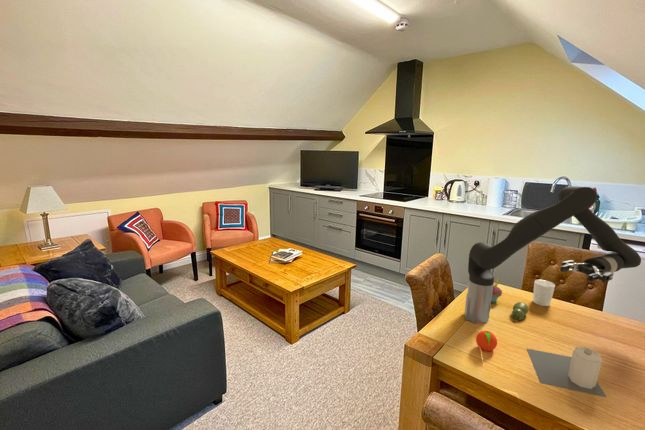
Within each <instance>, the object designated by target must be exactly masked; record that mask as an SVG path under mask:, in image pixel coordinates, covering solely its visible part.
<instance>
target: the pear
mask: <svg viewBox="0 0 645 430" xmlns="http://www.w3.org/2000/svg"><path fill="white" fill-rule="evenodd" d="M528 312H529V306H528V305H527V303H524V302H522V301H521V302H520V301H518V302H516V303H514V305H513V306H512V311H511V318H512V319H514V320H517V321H523V320H524V317H525V316H526V315H527V314H528Z"/></svg>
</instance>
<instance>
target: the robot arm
mask: <svg viewBox="0 0 645 430" xmlns="http://www.w3.org/2000/svg"><path fill="white" fill-rule="evenodd" d="M597 199H598V193H597V191H596V190H595V188H593V187H590V186H587V185H585V186H584V185H571V186H570V185H569V186H566V187H563V188H562V189H560V191H559V193H558V202H557V203H555V204H553V205H550V206H548V207H545V208H542V209H539V210H537V211H534V212H532V213H529V214H528V215H526V216H524V217H523V218H521V219H520V220H519V221H517V222H516V223H515V224H514V225H513V227H512V228H511V230H510V231H509V233H508V235H507V236H506V237H505V238H504V239H503V240H502V241H501V240H500V242H498V243H497V244H495V245H493V246H492V245H490V244H489V243H486V242H476V243H474V245H472V246H471V248H470V250H469V254H468V267H467V270H468V271H467V273H468V277H469V278H468V286H467V293H466V296H465V305H464V319H465V320H467V321H469V322H471V323H474V324H485V323H489V319H490V315H491V314H490V312H491V304H492V302H491V299H492V291H493V285H495V277H494V275H493V273H492V270H493V269H496V268H498V266H500V265H501V264H503V263H504V262H506V260H508V259H510V257H512V256H513V255H514V254H515V253H517V252H518V251H520V250H522V249H523V248H525V247H526V246H527V245H529V244H531V243H532V242H534V241H536V240H537V239H539V238H541V237H542V236H544V235H545V234H546V233H548V232H551V230H552V229H554V228H556V227H557V226H559V225H560V224H562V223H563V222H565V221H566V220H567V221H568V220H569V219H570V218H572V217H574V218H575V220H577V221H578V222H579V223H580V224H581V225H582V226H583V228H584V229H585V230H586V231H587V232H588V233H589V235H591V237H592V238H593V240H594V241H595V242H596V243H597V245H598V246H599V248H600V249H601V250H602V251H605V252H606V253H605V254H602V255H597V256H593V257H588V258H586V259H585V260H583V261H582V262H575V260H574V259H569V260H565V261H562V262H561V266H560V272H561V273H566V272H569V271H570V272H573V273H578V274H582V275H587V279H586V281H587V282H594V281H601V282H602V283H607V282H610V281H611V280H613V278H614V274H615V272H619V271H620V270H622V269H629V268H630V269H632V268H638V267H639V266H640V265H641V264H642V263H641V262H642V258H641V256H640V254H639V252H637V251H636V250H635V249H634V248H632V247H631V246H630V245H629V244H628V243H626V242H624V241H623V240H622V239H621V238H620V237H619V235H618V234H617V233H616V231H615V230H614V229H613V228H612V227H611V226H610V225H609V224H608V223H607V222H606V221H604V220H603V219H602V218H600V217H599V216H598V215H597V214H595V213H594V212H593V211H592V210H591V209H590V208H591V207H593V205H594V204H595V203H596V202H597Z"/></svg>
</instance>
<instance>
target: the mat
mask: <svg viewBox="0 0 645 430" xmlns="http://www.w3.org/2000/svg"><path fill="white" fill-rule="evenodd" d="M525 349H526V351H527V354H528V356H529V358H530V361H531V363H532V366H533V368H534V370H535V374H536V376H537V379H538V381H539V383H540V384H544V385H548V386H553V387H557V388H562V389H567V390H571V391H574V392H575V391H576V392H581V393H584V394H585V393H586V394H589V395H594V396H598V397H604V398H607V395H606V393H605V392H604V390H603V389H602V387H601V385H600V384H599V382H598V381H597V383H596V386H595V387H593V388H592V389H589V388H584V387H580V386H578V385H577V384H575V383H573V382H572V381H571V380H570V378H569V376H568V373H569V368H570V364H571V359H572V356H569V355H563V354H557V353H552V352H547V351H544V350H543V351H541V350H537V349H532V348H525Z"/></svg>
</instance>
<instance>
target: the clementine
mask: <svg viewBox="0 0 645 430" xmlns="http://www.w3.org/2000/svg"><path fill="white" fill-rule="evenodd" d="M475 342H476V345H477V347H478V348H480V349H481V350H483V351H486V352H490V351H493V350H495V349H496V348H497V345H498V339H497V337H496V336H495V334H494V333H493V332H490V330H489V331H488V330H481V331H478V333H477V334H476V337H475Z"/></svg>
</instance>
